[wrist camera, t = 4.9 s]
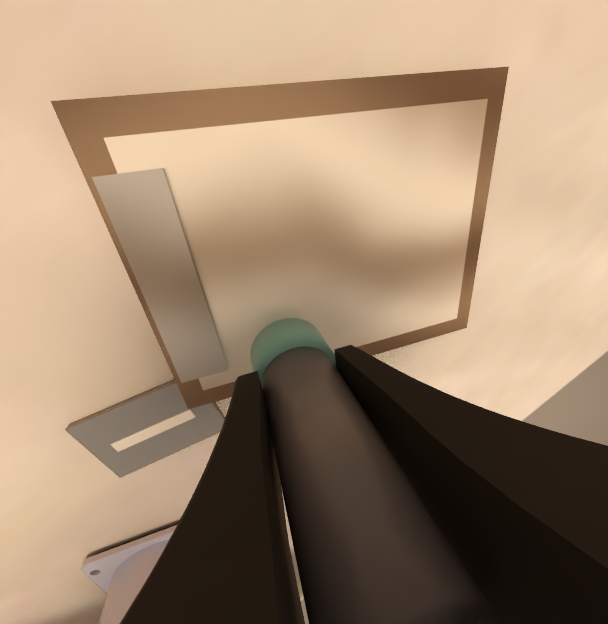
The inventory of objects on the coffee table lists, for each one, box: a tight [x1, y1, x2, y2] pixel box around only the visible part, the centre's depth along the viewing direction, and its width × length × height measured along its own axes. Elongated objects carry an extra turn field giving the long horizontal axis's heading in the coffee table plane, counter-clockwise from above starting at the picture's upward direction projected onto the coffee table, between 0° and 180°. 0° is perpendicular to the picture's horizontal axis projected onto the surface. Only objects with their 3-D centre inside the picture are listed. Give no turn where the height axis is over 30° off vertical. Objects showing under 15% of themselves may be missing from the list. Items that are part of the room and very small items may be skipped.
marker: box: [250, 318, 487, 624], centre depth 7 cm, size 3×3×8 cm
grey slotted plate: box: [66, 380, 225, 478], centre depth 13 cm, size 4×6×1 cm, turn 108°
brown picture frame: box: [51, 67, 509, 410], centre depth 12 cm, size 12×16×1 cm
